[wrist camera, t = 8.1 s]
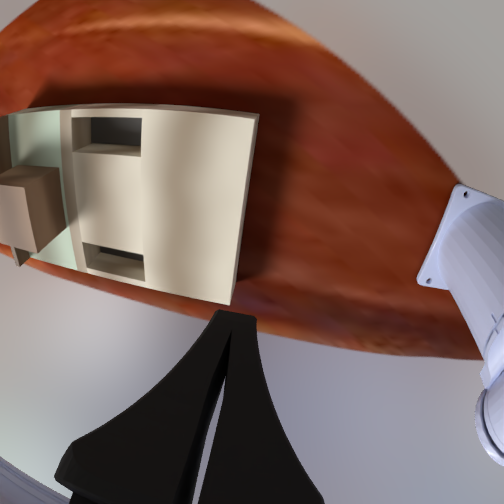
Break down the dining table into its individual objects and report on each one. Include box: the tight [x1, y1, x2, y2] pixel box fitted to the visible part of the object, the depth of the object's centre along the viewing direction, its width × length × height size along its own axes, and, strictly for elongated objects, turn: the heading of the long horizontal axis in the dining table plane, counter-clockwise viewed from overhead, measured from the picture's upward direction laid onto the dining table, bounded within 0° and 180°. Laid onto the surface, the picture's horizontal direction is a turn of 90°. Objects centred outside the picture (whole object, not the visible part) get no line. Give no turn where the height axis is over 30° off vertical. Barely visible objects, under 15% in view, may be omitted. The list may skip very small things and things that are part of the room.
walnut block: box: [0, 165, 67, 254], centre depth 16 cm, size 4×4×4 cm
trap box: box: [0, 103, 260, 305], centre depth 18 cm, size 18×12×4 cm, turn 83°
